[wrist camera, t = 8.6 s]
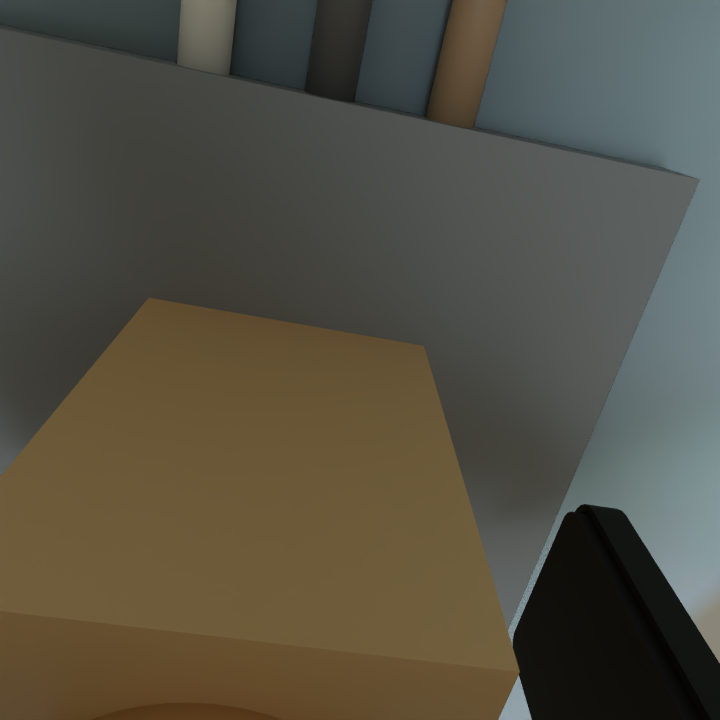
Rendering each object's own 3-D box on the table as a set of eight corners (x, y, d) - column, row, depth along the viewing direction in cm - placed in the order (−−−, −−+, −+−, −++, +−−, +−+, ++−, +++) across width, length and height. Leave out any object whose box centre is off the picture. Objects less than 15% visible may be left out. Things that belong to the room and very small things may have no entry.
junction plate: (-76, -327, 8) (-853, -1057, 3) (768, -96, 9) (1308, -302, 4) (-9, 580, 15) (-199, 861, 9) (476, 639, 16) (540, 914, 11)
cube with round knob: (148, 297, 10) (-213, 732, 4) (424, 345, 11) (558, 802, 4) (136, 518, 12) (-113, 1063, 6) (368, 550, 13) (398, 1083, 6)
